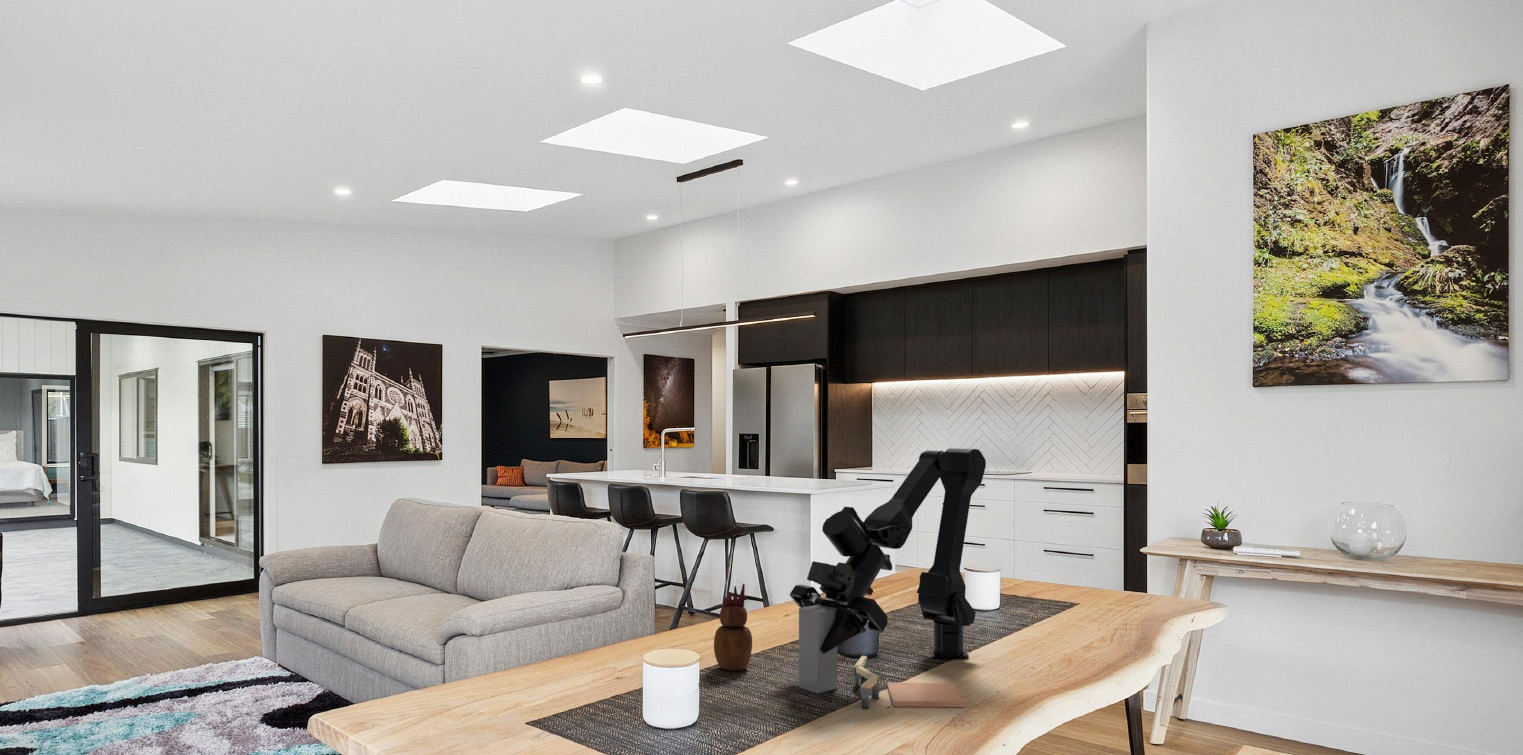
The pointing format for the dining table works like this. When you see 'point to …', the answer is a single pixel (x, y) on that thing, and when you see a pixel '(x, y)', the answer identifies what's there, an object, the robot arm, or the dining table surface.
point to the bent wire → (871, 683)
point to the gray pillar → (816, 649)
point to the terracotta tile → (925, 694)
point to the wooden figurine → (733, 634)
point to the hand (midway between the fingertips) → (812, 648)
